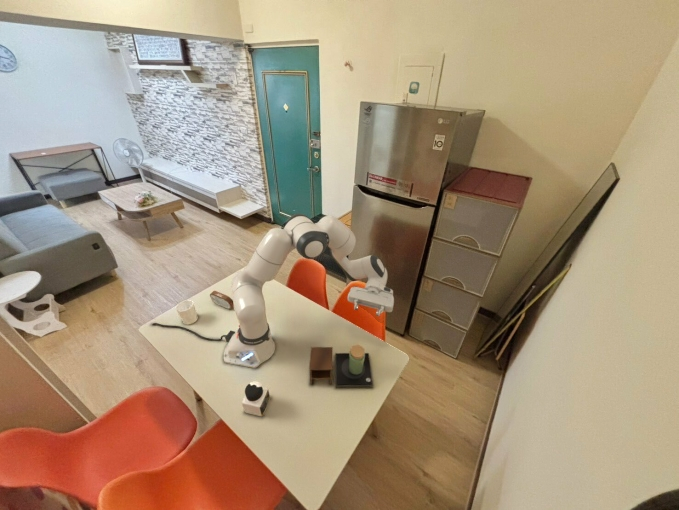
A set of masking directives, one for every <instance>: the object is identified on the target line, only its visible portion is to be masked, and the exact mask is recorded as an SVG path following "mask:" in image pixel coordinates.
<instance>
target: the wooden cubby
mask: <svg viewBox="0 0 679 510" xmlns="http://www.w3.org/2000/svg"><path fill="white" fill-rule="evenodd" d="M333 352H334V351H333V347H332V346H311V347H310V354H309V355H310V358H309V359H310V360H309V369H308V371H309V385H313V380H329V385H333V370H334V369H333V363H334V361H333V360H334V359H333V357H334V356H333V354H334V353H333Z"/></svg>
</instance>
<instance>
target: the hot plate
mask: <svg viewBox="0 0 679 510" xmlns="http://www.w3.org/2000/svg"><path fill="white" fill-rule="evenodd" d="M349 353H350V352H335V355H334V356H335V360H334V361H335V365H334V366H335V389H373V386H374V385H373V377H372V370H371V362H370V353H368V352H365V359H364V366H363V371H362V372H361V373H360V374H352V373H351V372H350V371H349V369H348V364H349Z"/></svg>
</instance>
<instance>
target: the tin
mask: <svg viewBox="0 0 679 510" xmlns="http://www.w3.org/2000/svg"><path fill="white" fill-rule="evenodd" d="M209 297H210V300H211V301H212V302H213V303H214V304H216V305H217V306H219V307H222V308H224V309H227V310H231V309H233V308H234V304H233V298H231V297H230V296H229V295H226V294H225V293H222V292H220V291H217V290H213V291H212V292H211V293H210V294H209Z"/></svg>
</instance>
